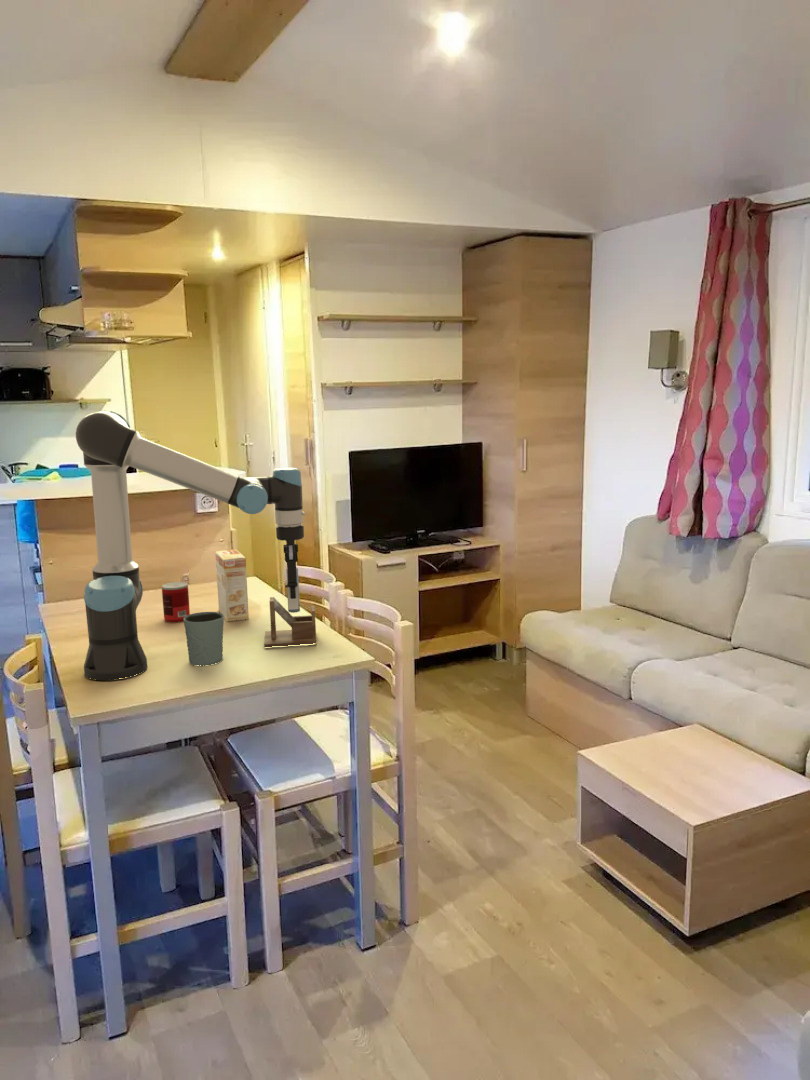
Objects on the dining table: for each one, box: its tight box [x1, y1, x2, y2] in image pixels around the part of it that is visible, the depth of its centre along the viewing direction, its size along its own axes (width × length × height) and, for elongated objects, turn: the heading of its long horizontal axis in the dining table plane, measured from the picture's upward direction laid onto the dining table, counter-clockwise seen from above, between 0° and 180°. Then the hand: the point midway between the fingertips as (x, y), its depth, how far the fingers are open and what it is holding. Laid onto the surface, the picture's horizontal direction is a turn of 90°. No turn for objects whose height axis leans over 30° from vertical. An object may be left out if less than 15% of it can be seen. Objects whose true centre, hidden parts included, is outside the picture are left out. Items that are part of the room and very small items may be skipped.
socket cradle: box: [263, 596, 317, 648], centre depth 227 cm, size 12×14×12 cm
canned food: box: [161, 581, 191, 624], centre depth 250 cm, size 8×8×11 cm
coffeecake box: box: [214, 548, 250, 622], centre depth 253 cm, size 15×7×20 cm, turn 22°
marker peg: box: [285, 567, 301, 614], centre depth 225 cm, size 3×3×12 cm
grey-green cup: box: [183, 611, 225, 667], centre depth 211 cm, size 10×10×12 cm
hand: (293, 607), depth 226 cm, fingers closed on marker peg, 3 cm apart
